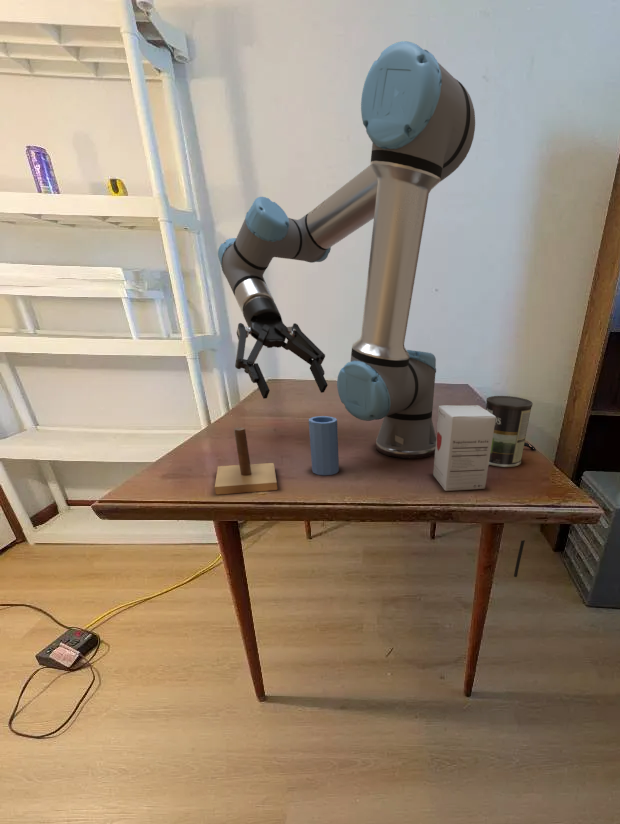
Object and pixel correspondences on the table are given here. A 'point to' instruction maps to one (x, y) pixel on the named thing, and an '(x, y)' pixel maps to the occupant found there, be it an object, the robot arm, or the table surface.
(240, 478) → the stand
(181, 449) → the table surface
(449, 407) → the white product box
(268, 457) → the table surface
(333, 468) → the blue hollow tube
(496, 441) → the coffee can
